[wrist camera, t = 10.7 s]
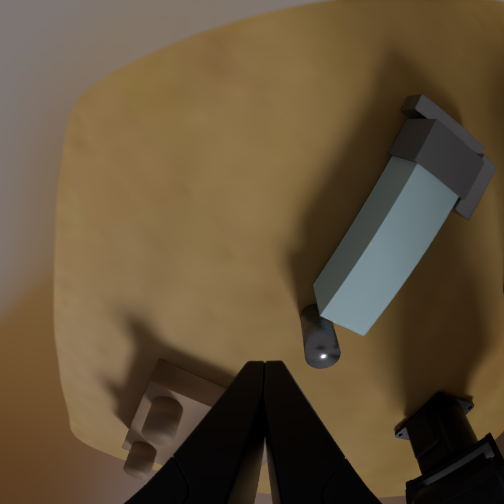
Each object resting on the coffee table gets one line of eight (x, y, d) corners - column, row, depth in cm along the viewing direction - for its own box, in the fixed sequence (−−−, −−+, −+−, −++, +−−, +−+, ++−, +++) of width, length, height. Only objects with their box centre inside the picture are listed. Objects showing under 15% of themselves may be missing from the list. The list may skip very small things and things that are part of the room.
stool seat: (296, 412, 24) (298, 466, 19) (235, 469, 29) (230, 511, 23) (159, 358, 23) (136, 410, 18) (129, 429, 27) (112, 470, 22)
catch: (473, 150, 16) (501, 156, 13) (444, 206, 17) (468, 220, 15) (407, 96, 15) (430, 92, 12) (375, 157, 17) (393, 163, 14)
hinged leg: (355, 305, 20) (368, 339, 17) (308, 282, 20) (315, 315, 16) (450, 153, 16) (484, 161, 12) (406, 118, 15) (436, 118, 12)
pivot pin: (336, 311, 20) (347, 348, 17) (319, 333, 21) (327, 372, 17) (310, 299, 20) (317, 336, 16) (294, 322, 21) (298, 361, 17)
